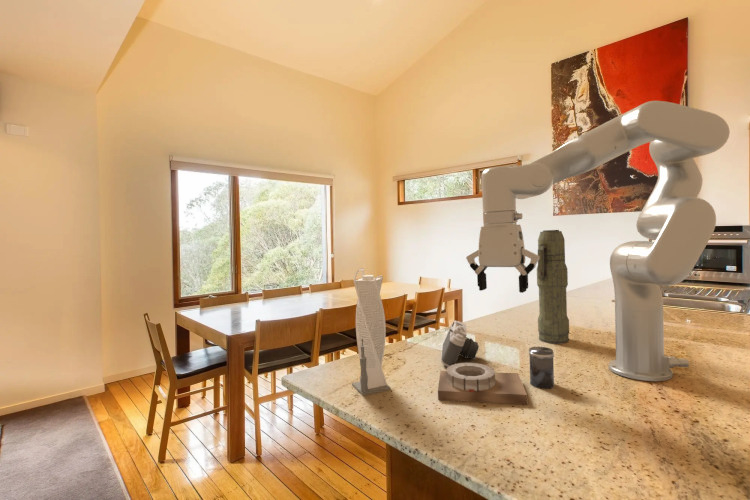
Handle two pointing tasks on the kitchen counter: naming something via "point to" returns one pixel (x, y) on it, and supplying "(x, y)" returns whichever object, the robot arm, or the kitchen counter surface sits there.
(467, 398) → the mount board
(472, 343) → the camera
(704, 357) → the kitchen counter surface
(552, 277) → the thermos
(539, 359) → the lens
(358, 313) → the skyscraper
